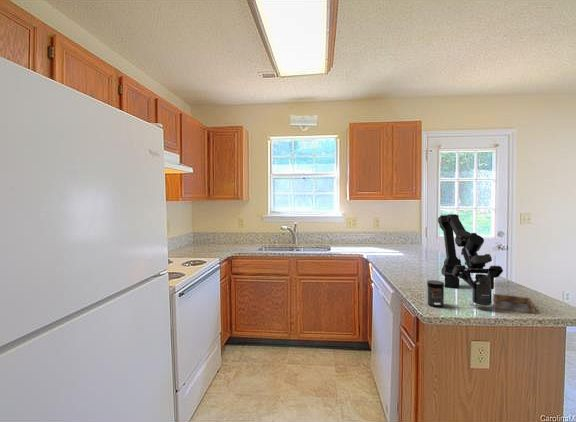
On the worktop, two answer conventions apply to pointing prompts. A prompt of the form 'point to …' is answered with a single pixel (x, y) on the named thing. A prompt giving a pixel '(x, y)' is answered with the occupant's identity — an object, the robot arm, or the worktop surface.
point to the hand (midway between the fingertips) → (483, 288)
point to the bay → (513, 303)
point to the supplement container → (435, 293)
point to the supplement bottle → (482, 290)
